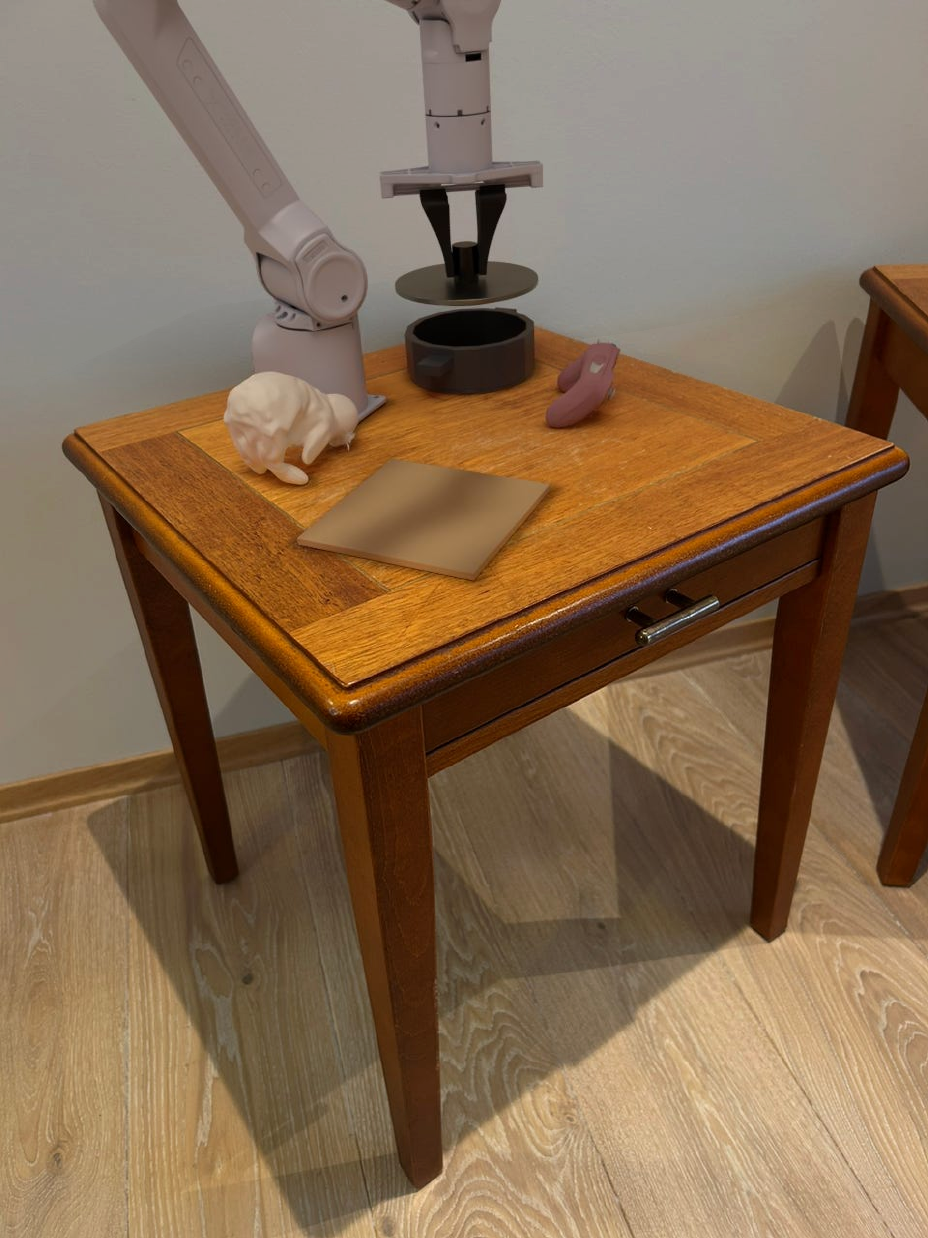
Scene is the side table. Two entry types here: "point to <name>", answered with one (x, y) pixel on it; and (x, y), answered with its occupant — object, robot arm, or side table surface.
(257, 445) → the crouching animal figurine
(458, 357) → the pan
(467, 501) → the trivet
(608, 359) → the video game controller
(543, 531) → the side table surface
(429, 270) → the lid
